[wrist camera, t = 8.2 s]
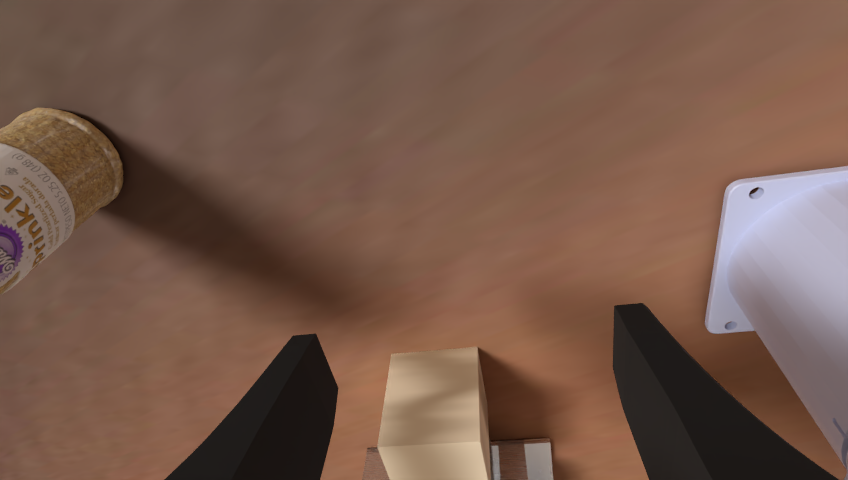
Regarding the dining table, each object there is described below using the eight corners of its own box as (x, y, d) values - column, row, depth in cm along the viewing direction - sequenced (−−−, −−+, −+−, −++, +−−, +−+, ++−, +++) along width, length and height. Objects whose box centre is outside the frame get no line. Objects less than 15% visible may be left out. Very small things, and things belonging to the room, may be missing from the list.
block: (477, 346, 27) (480, 441, 22) (487, 403, 29) (491, 499, 24) (391, 353, 27) (377, 447, 23) (408, 408, 30) (398, 502, 25)
